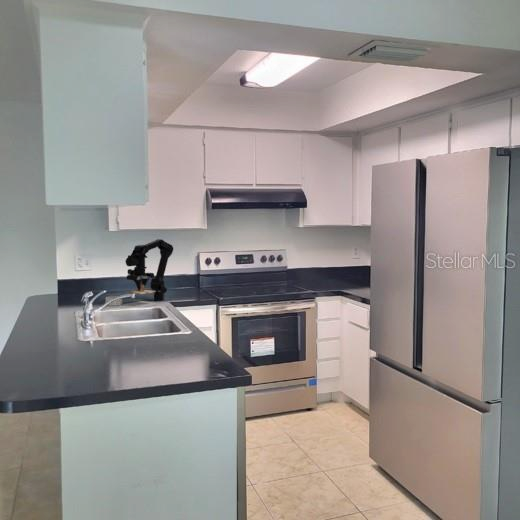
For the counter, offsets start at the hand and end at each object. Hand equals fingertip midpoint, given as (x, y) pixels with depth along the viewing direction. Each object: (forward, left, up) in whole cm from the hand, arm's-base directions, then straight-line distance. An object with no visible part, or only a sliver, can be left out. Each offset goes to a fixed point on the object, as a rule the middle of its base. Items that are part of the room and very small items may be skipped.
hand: (140, 289), depth 328 cm
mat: (0, 0, -10) cm, 10 cm away
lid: (0, 0, -2) cm, 2 cm away
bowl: (+10, -14, -10) cm, 20 cm away
